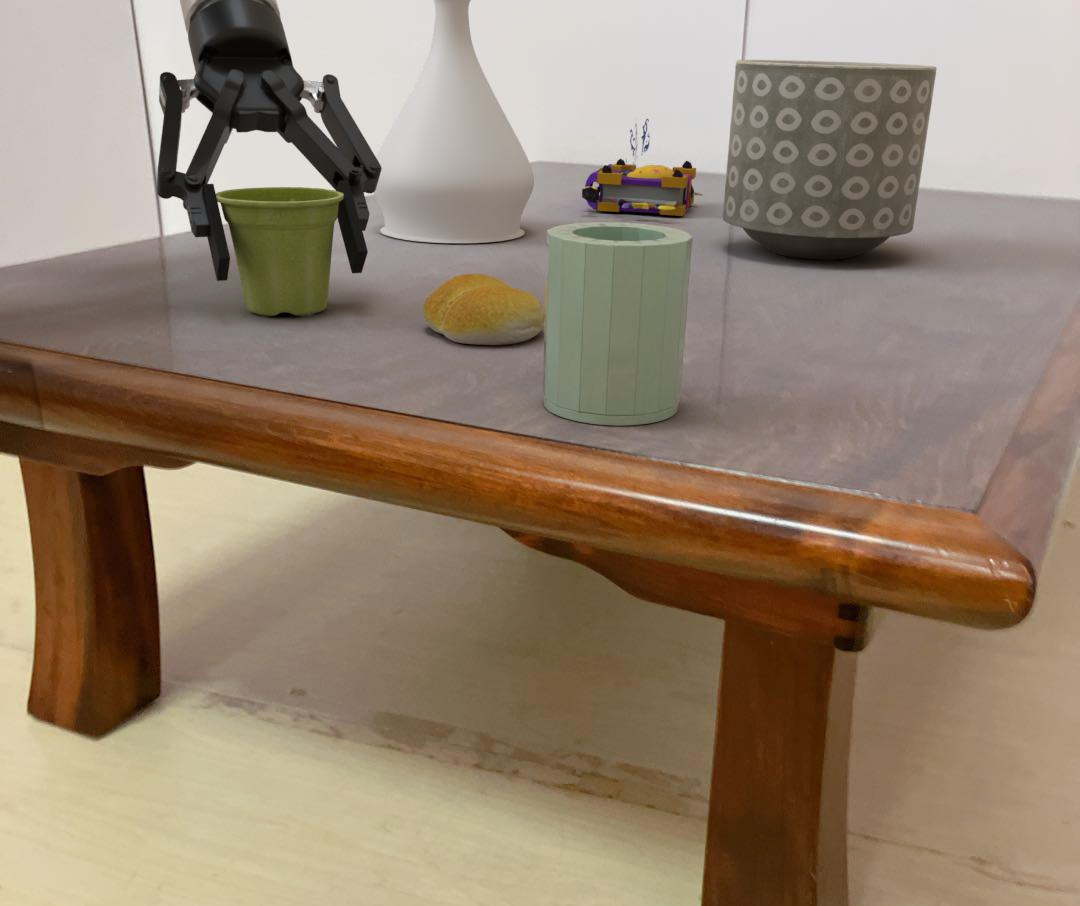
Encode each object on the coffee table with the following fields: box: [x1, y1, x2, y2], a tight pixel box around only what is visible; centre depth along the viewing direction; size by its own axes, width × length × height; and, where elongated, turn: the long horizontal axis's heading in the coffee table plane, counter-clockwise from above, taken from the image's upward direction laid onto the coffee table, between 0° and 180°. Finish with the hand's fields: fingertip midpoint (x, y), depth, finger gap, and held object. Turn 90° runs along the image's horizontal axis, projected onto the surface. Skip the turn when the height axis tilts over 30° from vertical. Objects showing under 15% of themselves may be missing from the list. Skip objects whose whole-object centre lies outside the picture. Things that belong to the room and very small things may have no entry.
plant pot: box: [215, 186, 344, 317], centre depth 89 cm, size 9×9×9 cm
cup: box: [542, 221, 693, 427], centre depth 68 cm, size 8×8×10 cm
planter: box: [722, 59, 938, 261], centre depth 118 cm, size 19×19×18 cm
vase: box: [373, 0, 535, 244], centre depth 123 cm, size 17×17×25 cm
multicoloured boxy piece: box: [581, 118, 703, 217], centre depth 147 cm, size 15×25×12 cm, turn 167°
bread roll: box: [422, 273, 545, 346], centre depth 85 cm, size 8×9×4 cm
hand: (293, 266), depth 87 cm, fingers closed on plant pot, 9 cm apart
